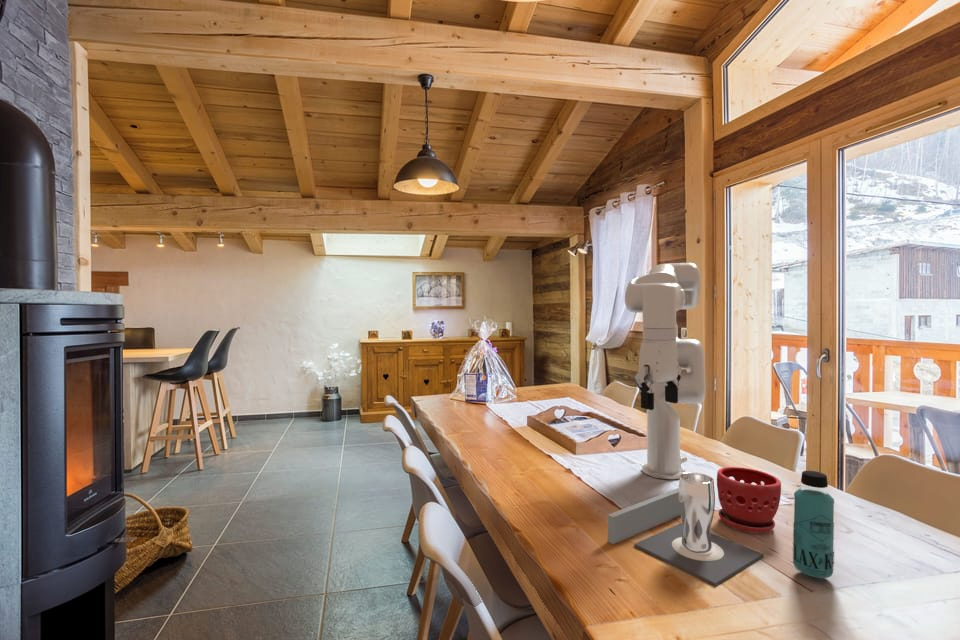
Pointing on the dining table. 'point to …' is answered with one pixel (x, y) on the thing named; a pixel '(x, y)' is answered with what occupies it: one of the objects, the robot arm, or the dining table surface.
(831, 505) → the beverage bottle
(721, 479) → the plant pot
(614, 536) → the low wall
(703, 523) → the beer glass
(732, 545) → the dark gray mat
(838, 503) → the dining table surface
